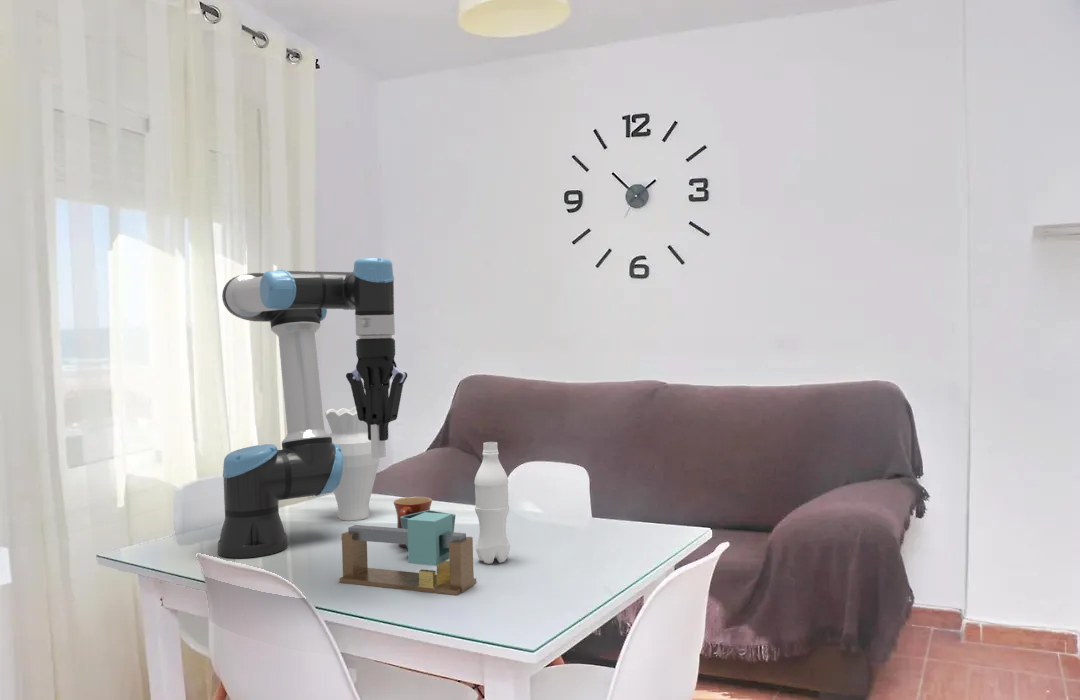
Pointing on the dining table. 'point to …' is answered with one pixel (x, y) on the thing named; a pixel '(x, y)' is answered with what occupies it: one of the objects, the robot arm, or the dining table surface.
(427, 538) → the block
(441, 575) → the rail
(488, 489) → the water bottle
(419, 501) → the mug
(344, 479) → the vase
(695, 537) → the dining table surface
